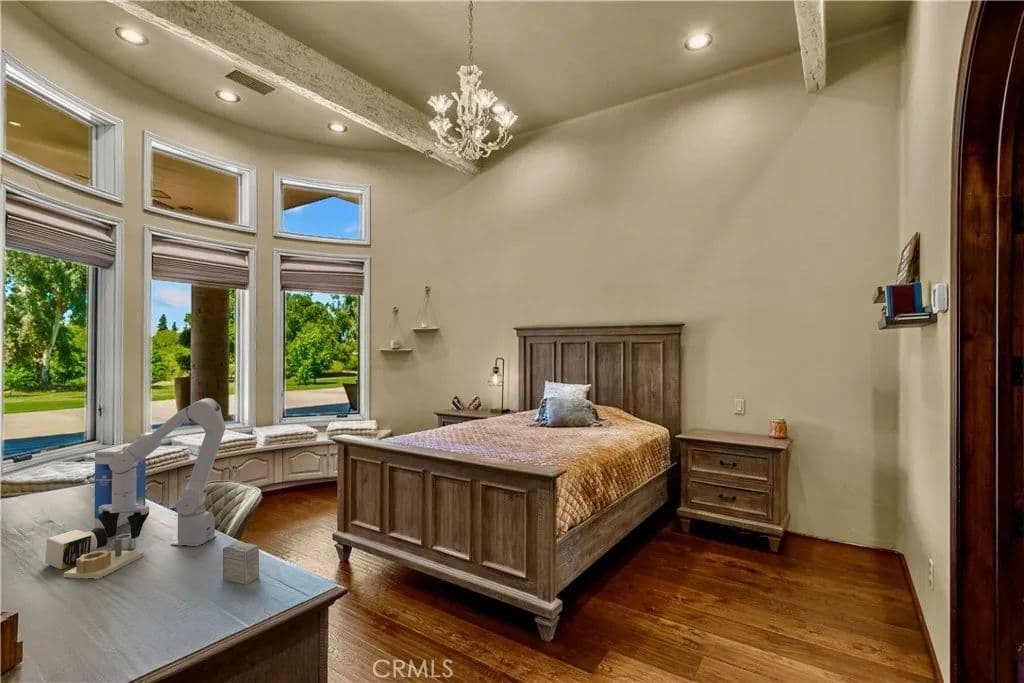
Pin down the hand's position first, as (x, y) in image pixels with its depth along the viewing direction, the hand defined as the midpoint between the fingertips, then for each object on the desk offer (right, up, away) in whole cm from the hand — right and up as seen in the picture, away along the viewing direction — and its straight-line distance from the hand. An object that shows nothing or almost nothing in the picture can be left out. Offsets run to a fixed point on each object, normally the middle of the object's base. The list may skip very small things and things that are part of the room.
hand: (123, 537), depth 145 cm
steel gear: (0, -4, 0) cm, 4 cm away
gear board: (+4, -3, -11) cm, 13 cm away
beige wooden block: (+46, -4, -19) cm, 50 cm away
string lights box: (-19, -4, +22) cm, 29 cm away
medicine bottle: (-9, 0, -13) cm, 16 cm away
